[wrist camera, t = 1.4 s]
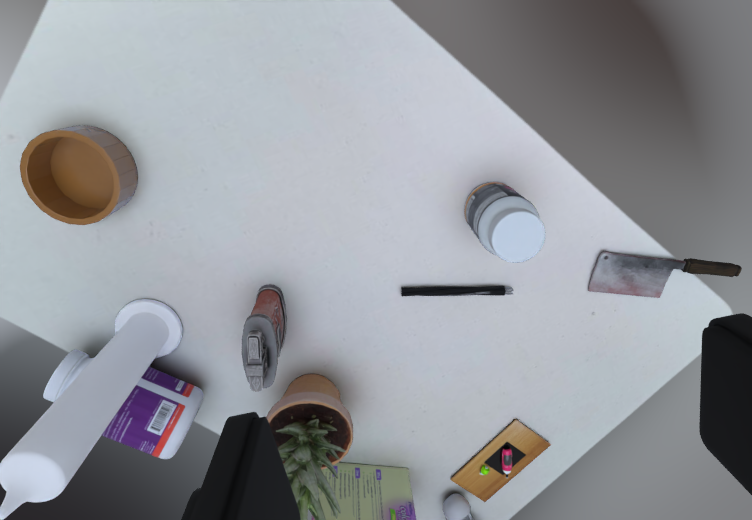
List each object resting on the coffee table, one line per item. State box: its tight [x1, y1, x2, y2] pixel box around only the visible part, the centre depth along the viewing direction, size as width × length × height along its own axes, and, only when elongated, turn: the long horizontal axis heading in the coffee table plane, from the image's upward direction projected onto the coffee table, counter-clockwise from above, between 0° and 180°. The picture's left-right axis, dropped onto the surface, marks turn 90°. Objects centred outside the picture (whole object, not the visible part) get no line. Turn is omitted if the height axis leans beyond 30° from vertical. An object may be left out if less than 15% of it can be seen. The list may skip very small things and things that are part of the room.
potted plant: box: [266, 374, 353, 520], centre depth 47 cm, size 10×10×25 cm
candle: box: [0, 299, 183, 520], centre depth 43 cm, size 7×7×25 cm
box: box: [312, 463, 416, 520], centre depth 59 cm, size 10×6×12 cm
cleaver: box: [589, 251, 741, 298], centre depth 55 cm, size 16×1×5 cm
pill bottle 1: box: [43, 349, 204, 459], centre depth 53 cm, size 8×8×14 cm
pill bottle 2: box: [464, 182, 545, 263], centre depth 47 cm, size 6×6×10 cm
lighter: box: [242, 285, 287, 391], centre depth 50 cm, size 8×3×10 cm, turn 178°
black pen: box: [401, 286, 513, 296], centre depth 54 cm, size 12×1×1 cm
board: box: [451, 419, 551, 502], centre depth 63 cm, size 6×12×2 cm, turn 140°
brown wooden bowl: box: [20, 125, 138, 225], centre depth 46 cm, size 9×9×4 cm
